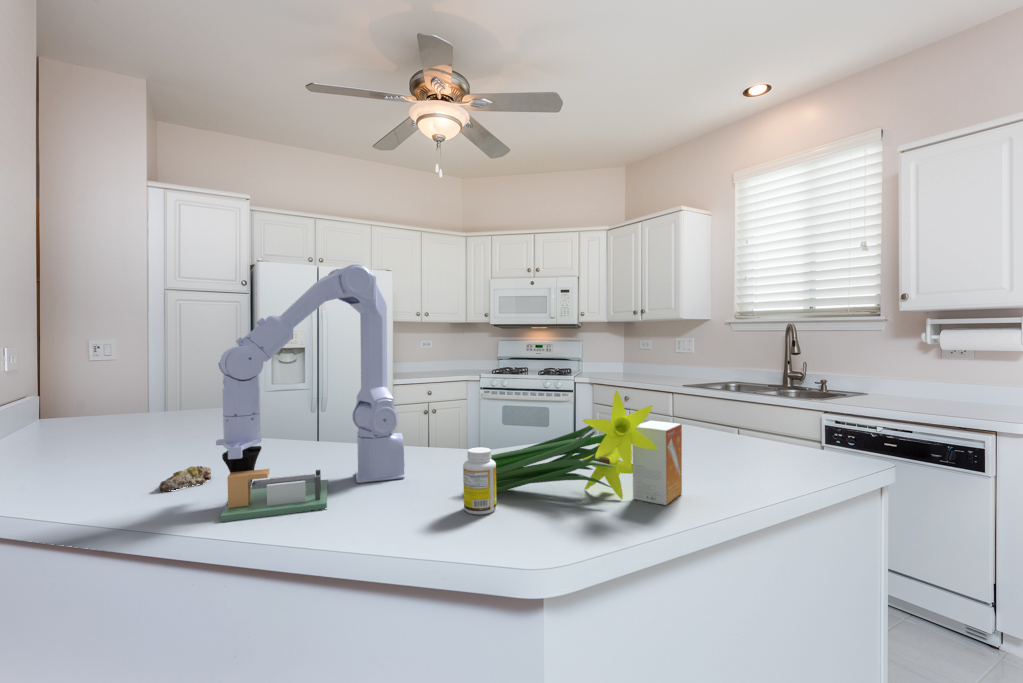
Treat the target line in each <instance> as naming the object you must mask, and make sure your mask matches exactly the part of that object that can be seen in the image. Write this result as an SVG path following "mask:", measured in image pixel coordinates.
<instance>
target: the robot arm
mask: <svg viewBox="0 0 1023 683" xmlns="http://www.w3.org/2000/svg"><path fill="white" fill-rule="evenodd" d="M333 300H339V301H341V302H344V303H347V304H348V305H350V306H351V307H352V308H353V309H355V311H356V312H357V313H358V314H359V315H360V316H359V317H360V320H359V322H360V390H359V391H358V393H357V395H356V403H355V406H354V408H353V411H352V414H351V415H352V416H351V417H352V421H353V424H354V425H355V427H357V433H356V434H357V435H356V440H357V441H356V442H357V470H355V473H354V474H355V479H356V480H355V481H356V483H358V484H360V483H369V482H370V483H371V482H379V481H388V480H398V479H405V477H406V476H405V465H406V464H405V451H404V449H405V444H404V437H403V436H404V435H403V433H402V432H394V430H395V429H396V427H397V425H398V423H399V415H398V411H397V410H396V407H395V400H394V396H392V394H391V392H390V390H389V389H388V320H387V319H388V317H387V316H388V312H387V311H388V310H387V309H388V308H387V303H386V302H387V301H386V300H385V298H384V296H383V293H382V292H381V290H380V288H379V286H378V284H377V276H376V275H375V274H374V273H372V272H371V271H370V270H369V269H368V268H367V267H366V266H364V265H362V264H356V263H354V264H350V265H348V266H345V267H343V268H336V269H335V268H334V270H331V271H330V272H329V273H328V275H325V276H323V277H322V278H320V279H318V280H317V281H316V282H315V283H314V284H313V285H311V286H310V287H309V288H308V289H307V290H306V291H305V292H304V293H303V294H302V295H301V296H300V297H299V298H297V300H295V301H294V303H292V304H291V305H290V306H289V307H288V308H287V309H286V310H285V311H284V312H282V314H281V315H279V316H278V315H269V316H267V317H266V318H265V317H261V318H259V319H258V320H257V321H256V322H255V323H256V324H257V326H256V327H254V329H252V330H251V331H250V332H249V333H247V335H245V336H244V337H243V338H242V337H238V338H237V339H236V340H235V343H236V344H237V345H238V346H234V347H231V348H229V349H227V350H225V351H224V352H223V354H222V355H221V356H220V360H219V361H218V364H217V365H218V369H219V370H220V372H221V373H222V374H223V377H222V378H223V379H222V384H223V388H222V418H223V420H222V422H223V425H222V426H223V438H220V439H217V440H216V441H215V446H223V447H224V448H225V449H227V450H226V451H224V452H223V453H222V455H221V457H222V461H223V462H224V463H225V465H226V466H227V469H228V471H229V474H230V473H231V472H241V471H252V470H255V468H256V463H257V461H258V460H257V459H258V457H259V454H260V452H261V450H262V446H261V445H258V444H260V443H261V442H262V436H261V420H260V419H261V413H260V387H259V374H261V372H262V370H263V368H264V363H265V362H269V360H271V359H272V358H273V357H274V356H275V355H276V354H277V353H278V352H279V351H280V350H282V349H283V348H284V347H285V346H286V345H287V344H288V343H289V342H290V341H291V340H293V339H294V328H296V326H298V325H299V324H300V323H302V322H303V321H304V320H306V318H307V317H308V316H310V315H312V313H314V312H315V311H317V309H318V308H320V307H321V306H322V305H323V304H324V303H326V302H329V301H333ZM252 483H253V479H252V480H251V485H252Z"/></svg>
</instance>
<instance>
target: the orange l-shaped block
mask: <svg viewBox="0 0 1023 683" xmlns="http://www.w3.org/2000/svg"><path fill="white" fill-rule="evenodd" d="M269 475H270V468H266V469H265V468H264V469H254V470H252V471H241V472H231V473H230V472H229V474H228V476H227V505H228V508H232V507H241V506H248V505H249V503H250V501H251V485H252V484H251V480H252V481H253V480H259V479H260V480H263V479H269V478H268V477H269Z"/></svg>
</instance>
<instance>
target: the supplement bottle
mask: <svg viewBox="0 0 1023 683" xmlns="http://www.w3.org/2000/svg"><path fill="white" fill-rule="evenodd" d="M491 455H492V450H491V448H488V447H478V446H477V447H472V448H469V449H468V450H467V455H466V456H467V460H465V461H464V462H463V464H462V467H463V469H462V473H463V474H462V475H463V476H462V478H463V480H462V481H463V508H464V510H465V512H466V513H468V514H470V515H478V516H479V515H488V514H490V513H493V512H494V511H495V510H496V509H497V505H498V504H497V502H498V501H497V493H496V463H495V461H494V460H492V459H491Z"/></svg>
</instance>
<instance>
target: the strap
mask: <svg viewBox="0 0 1023 683" xmlns="http://www.w3.org/2000/svg"><path fill="white" fill-rule="evenodd" d="M302 475H303V476H294V475H293V476H294V477H284V476H283V477H284V478H275V479H270V478H265V479H260V480H259V479H256V480H252V484H251V487H252V489H261V488H267V484H277V483H287V482H296V481H305V483H313V482H315V476H320V474H319V473H317V474H316V473H311V474H306V475H304V474H302Z"/></svg>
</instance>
